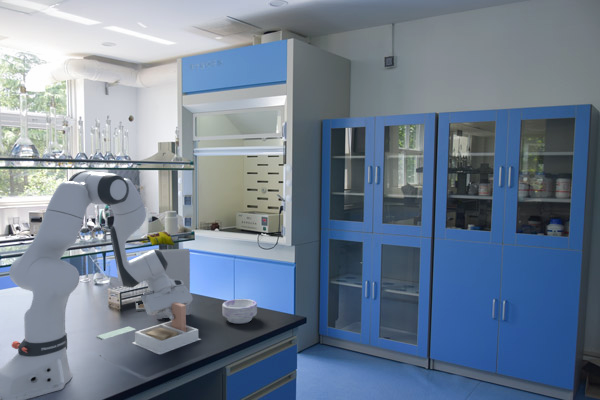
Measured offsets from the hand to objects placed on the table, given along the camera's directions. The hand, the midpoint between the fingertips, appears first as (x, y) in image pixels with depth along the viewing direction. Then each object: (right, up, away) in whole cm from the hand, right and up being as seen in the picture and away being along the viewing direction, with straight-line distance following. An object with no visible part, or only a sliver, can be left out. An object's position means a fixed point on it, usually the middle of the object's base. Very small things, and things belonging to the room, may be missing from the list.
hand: (177, 317), depth 179 cm
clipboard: (-24, -5, +49) cm, 54 cm away
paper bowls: (+21, -7, +23) cm, 32 cm away
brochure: (-9, -7, +28) cm, 30 cm away
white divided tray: (-3, -9, -4) cm, 10 cm away
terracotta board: (+1, -7, 0) cm, 7 cm away
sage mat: (-22, -8, +2) cm, 24 cm away
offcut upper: (-4, -6, -6) cm, 10 cm away
